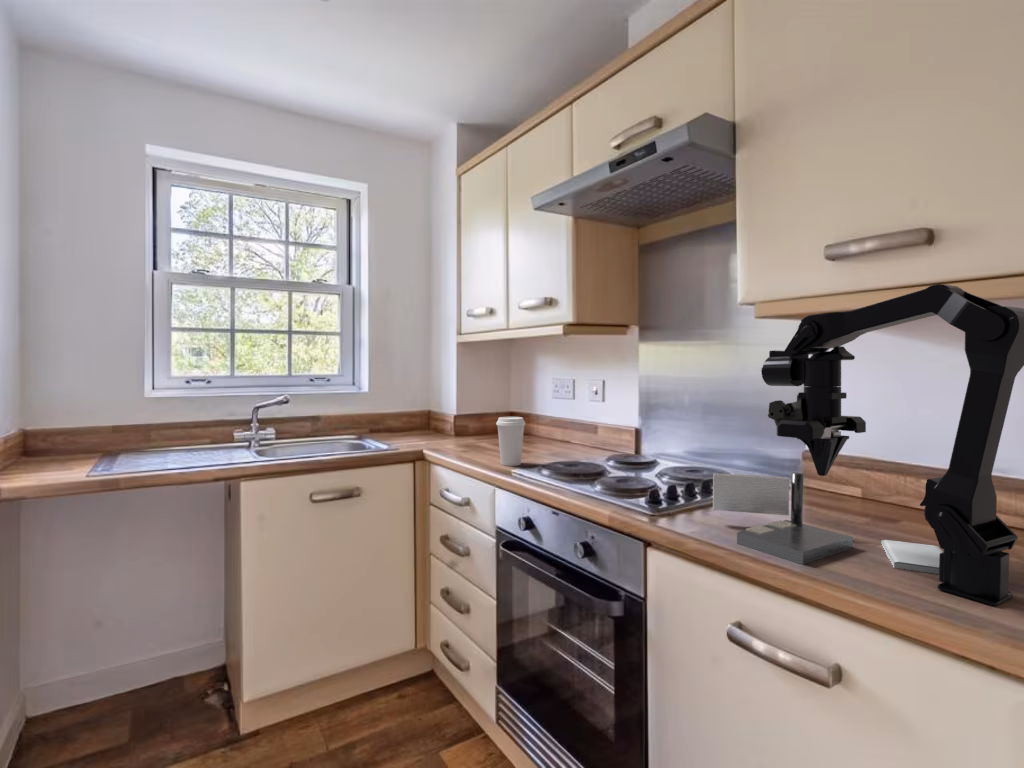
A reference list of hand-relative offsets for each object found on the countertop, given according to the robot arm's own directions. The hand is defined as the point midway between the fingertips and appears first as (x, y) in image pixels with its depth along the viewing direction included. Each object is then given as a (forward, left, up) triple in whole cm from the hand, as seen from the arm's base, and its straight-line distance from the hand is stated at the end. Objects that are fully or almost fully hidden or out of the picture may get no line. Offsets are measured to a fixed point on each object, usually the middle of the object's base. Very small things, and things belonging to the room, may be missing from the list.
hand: (822, 475), depth 94 cm
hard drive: (-12, -6, -13) cm, 19 cm away
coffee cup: (+96, +7, -13) cm, 97 cm away
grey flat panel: (+13, +1, -9) cm, 16 cm away
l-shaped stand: (+2, +3, -12) cm, 13 cm away
